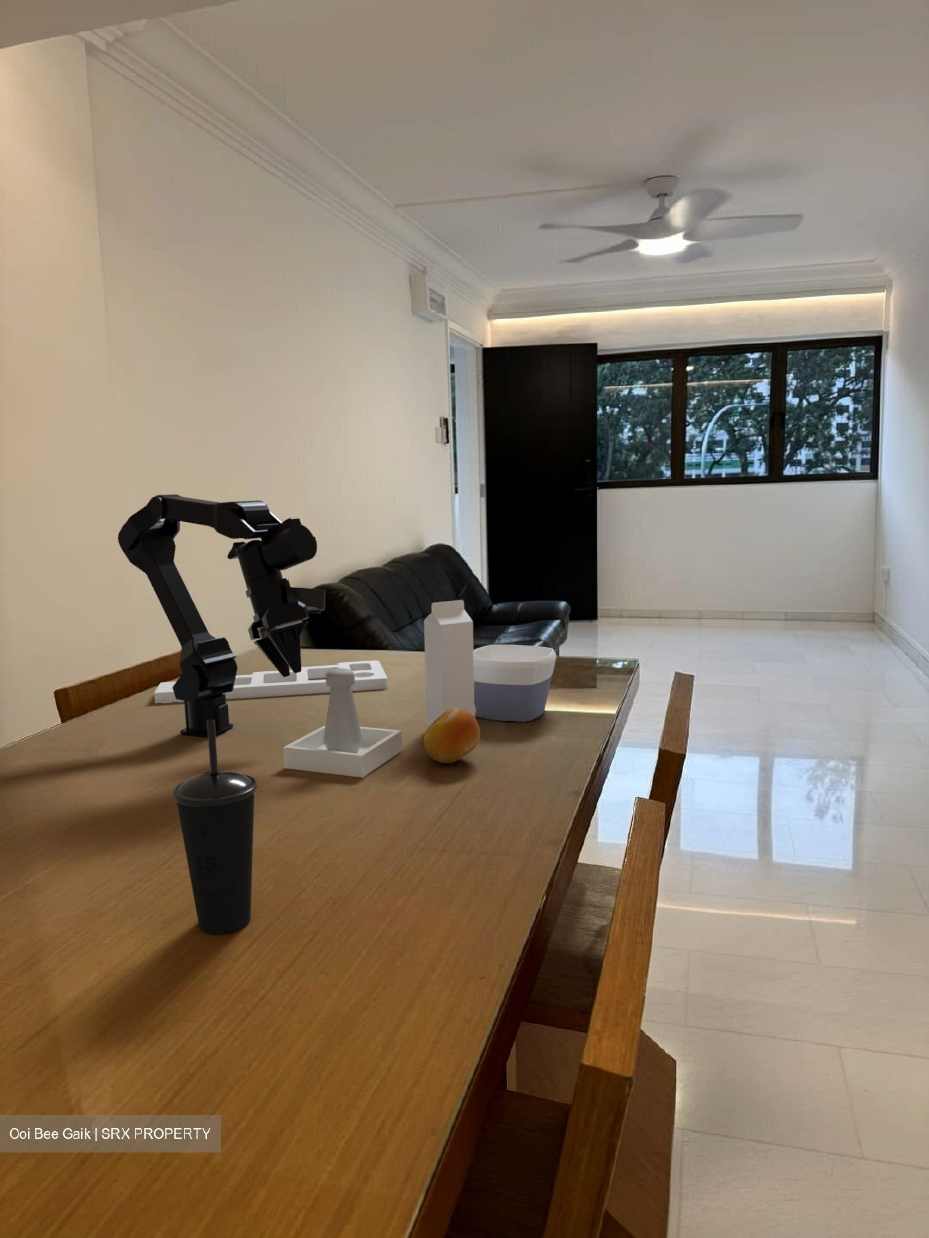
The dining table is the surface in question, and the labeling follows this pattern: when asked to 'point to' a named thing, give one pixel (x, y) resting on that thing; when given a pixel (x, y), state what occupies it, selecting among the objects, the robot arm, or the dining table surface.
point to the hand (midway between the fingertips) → (292, 674)
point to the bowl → (512, 681)
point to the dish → (343, 753)
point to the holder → (292, 682)
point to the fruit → (452, 736)
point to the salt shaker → (342, 713)
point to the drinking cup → (218, 842)
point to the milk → (448, 659)
